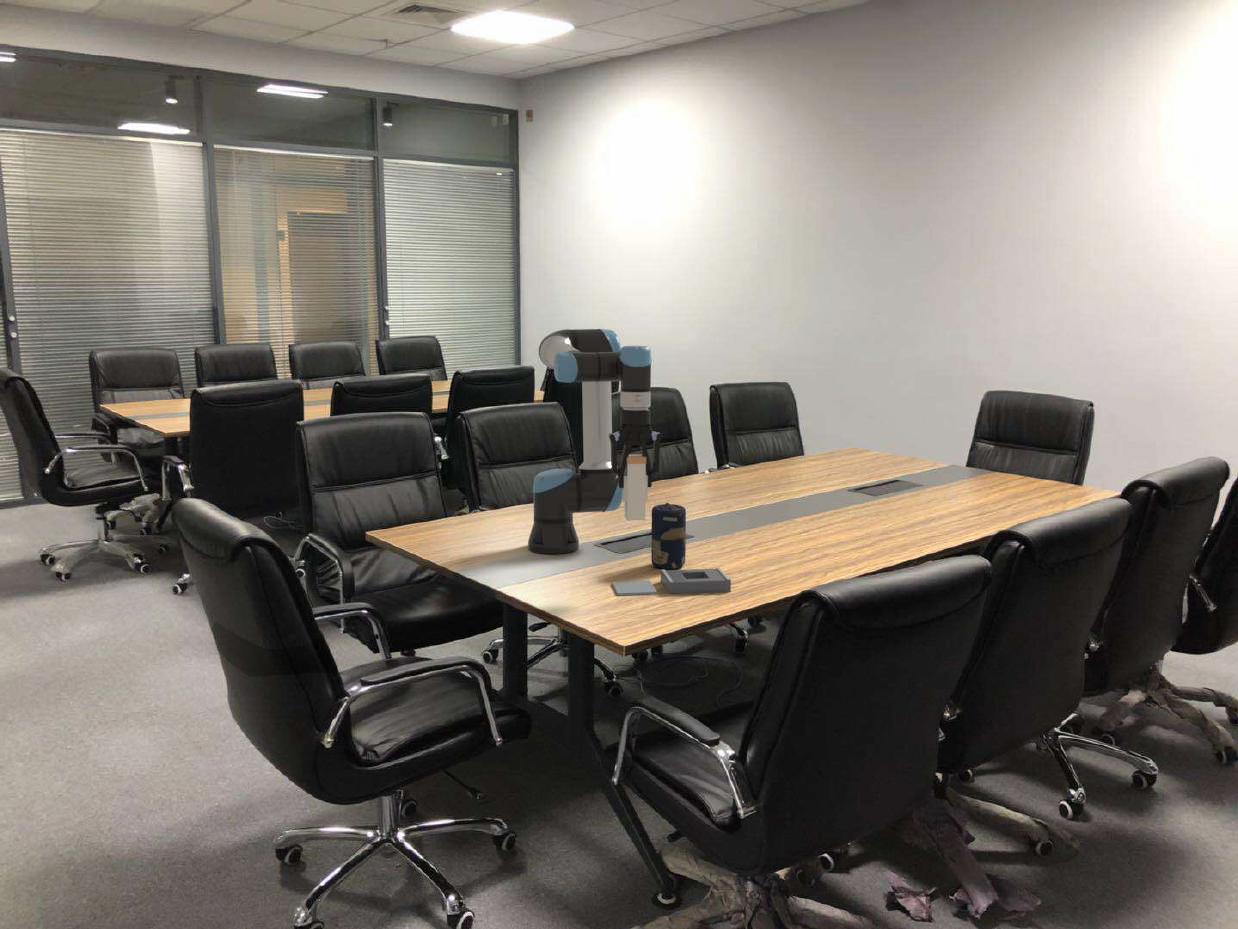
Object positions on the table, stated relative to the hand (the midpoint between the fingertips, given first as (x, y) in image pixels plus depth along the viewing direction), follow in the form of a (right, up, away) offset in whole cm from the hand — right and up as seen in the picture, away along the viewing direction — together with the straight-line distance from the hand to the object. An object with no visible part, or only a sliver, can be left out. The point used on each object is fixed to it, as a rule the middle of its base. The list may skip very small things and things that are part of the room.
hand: (634, 500), depth 245 cm
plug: (0, -5, +1) cm, 5 cm away
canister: (+10, -20, +26) cm, 34 cm away
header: (+16, -23, +6) cm, 28 cm away
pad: (0, -23, +4) cm, 23 cm away
